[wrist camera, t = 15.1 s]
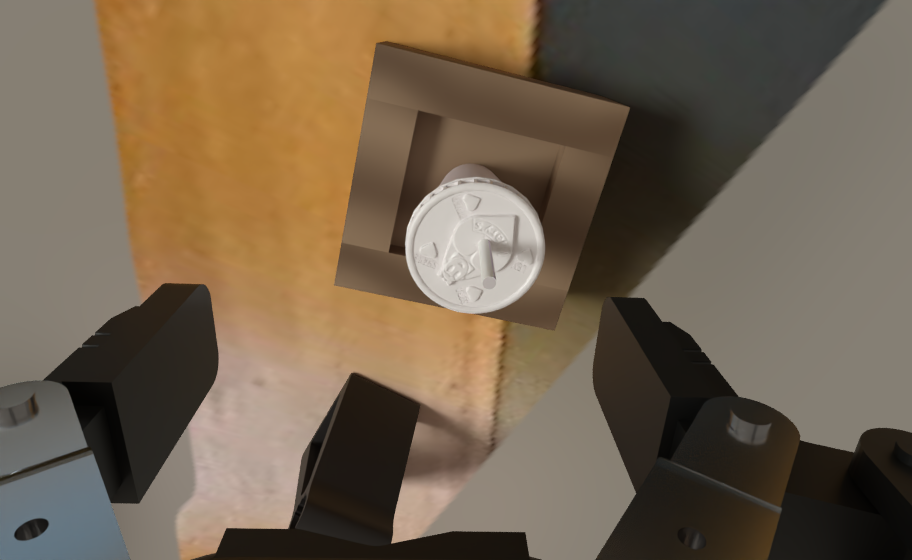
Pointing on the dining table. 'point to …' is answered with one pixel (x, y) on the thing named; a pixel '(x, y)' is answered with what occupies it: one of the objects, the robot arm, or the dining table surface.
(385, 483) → the phone stand
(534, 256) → the smoothie
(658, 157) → the dining table surface
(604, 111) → the walnut tray
